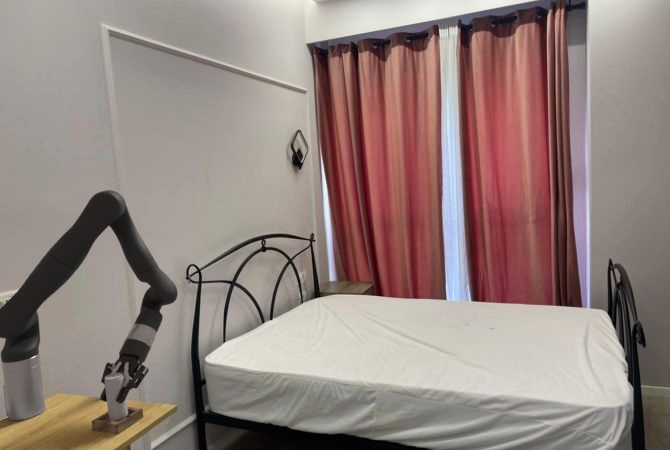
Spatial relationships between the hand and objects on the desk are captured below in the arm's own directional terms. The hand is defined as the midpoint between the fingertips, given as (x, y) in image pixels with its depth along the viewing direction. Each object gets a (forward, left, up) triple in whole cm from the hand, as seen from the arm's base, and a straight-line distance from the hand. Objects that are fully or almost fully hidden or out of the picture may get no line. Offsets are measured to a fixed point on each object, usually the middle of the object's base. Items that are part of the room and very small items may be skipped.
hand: (111, 401), depth 126 cm
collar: (0, +2, -7) cm, 7 cm away
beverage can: (0, +2, -6) cm, 6 cm away
